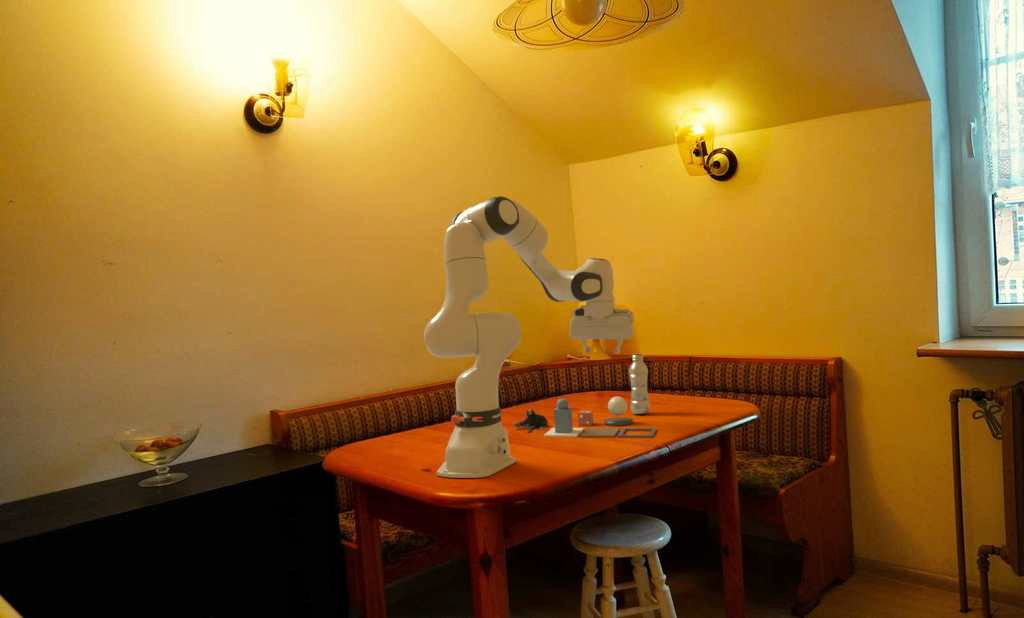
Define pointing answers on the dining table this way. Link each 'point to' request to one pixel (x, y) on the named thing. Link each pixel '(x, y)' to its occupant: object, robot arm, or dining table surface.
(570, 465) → the dining table surface
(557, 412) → the pawn
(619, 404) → the white ball
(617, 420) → the base
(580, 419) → the die
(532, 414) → the stuffed animal
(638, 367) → the plastic bottle
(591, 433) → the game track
